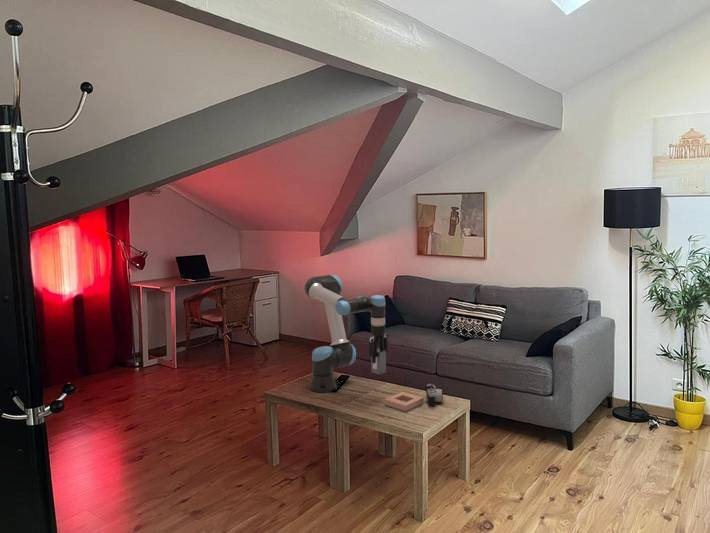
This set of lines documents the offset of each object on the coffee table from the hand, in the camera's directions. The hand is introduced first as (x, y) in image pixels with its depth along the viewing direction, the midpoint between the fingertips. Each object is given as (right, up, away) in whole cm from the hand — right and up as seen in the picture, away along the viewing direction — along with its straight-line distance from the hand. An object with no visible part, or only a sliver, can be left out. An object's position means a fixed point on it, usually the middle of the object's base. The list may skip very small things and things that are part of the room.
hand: (378, 367), depth 309 cm
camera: (+29, -19, -2) cm, 35 cm away
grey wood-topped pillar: (0, -3, 0) cm, 3 cm away
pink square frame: (+13, -19, -4) cm, 24 cm away
